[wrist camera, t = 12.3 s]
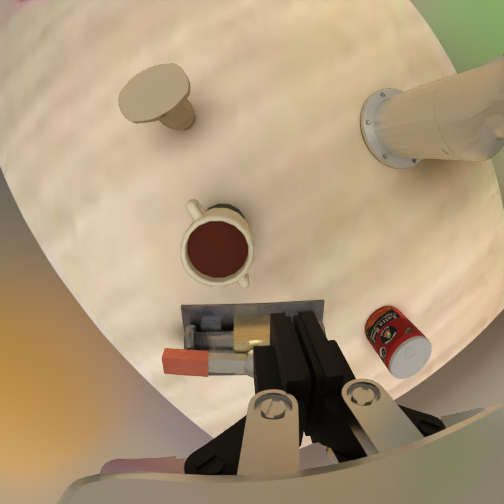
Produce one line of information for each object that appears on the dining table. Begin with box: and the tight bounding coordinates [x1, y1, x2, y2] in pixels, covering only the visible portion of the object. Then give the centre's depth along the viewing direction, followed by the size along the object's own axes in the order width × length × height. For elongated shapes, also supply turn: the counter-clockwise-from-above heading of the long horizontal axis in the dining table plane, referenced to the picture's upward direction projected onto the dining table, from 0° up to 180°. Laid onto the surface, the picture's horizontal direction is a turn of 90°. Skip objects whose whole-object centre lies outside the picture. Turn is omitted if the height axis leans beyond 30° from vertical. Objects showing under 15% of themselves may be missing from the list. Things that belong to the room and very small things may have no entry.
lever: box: [162, 348, 254, 378], centre depth 35 cm, size 14×4×2 cm, turn 87°
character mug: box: [181, 199, 254, 288], centre depth 33 cm, size 11×7×13 cm, turn 33°
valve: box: [181, 300, 326, 375], centre depth 41 cm, size 22×14×7 cm, turn 91°
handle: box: [118, 63, 195, 130], centre depth 27 cm, size 5×6×15 cm
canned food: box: [365, 307, 432, 379], centre depth 40 cm, size 8×8×11 cm
